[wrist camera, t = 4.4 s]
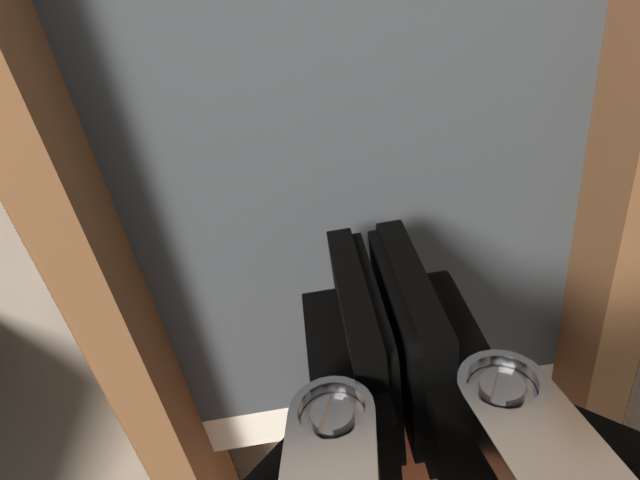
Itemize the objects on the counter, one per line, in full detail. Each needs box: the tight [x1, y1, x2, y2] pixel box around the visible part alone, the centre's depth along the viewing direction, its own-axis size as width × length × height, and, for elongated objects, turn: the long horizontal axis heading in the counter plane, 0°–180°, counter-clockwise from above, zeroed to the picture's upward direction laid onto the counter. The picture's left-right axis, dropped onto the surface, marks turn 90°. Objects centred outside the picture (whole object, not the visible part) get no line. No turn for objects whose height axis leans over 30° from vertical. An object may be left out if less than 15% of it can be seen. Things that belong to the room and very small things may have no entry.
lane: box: [0, 0, 640, 480], centre depth 14 cm, size 27×13×5 cm, turn 8°
